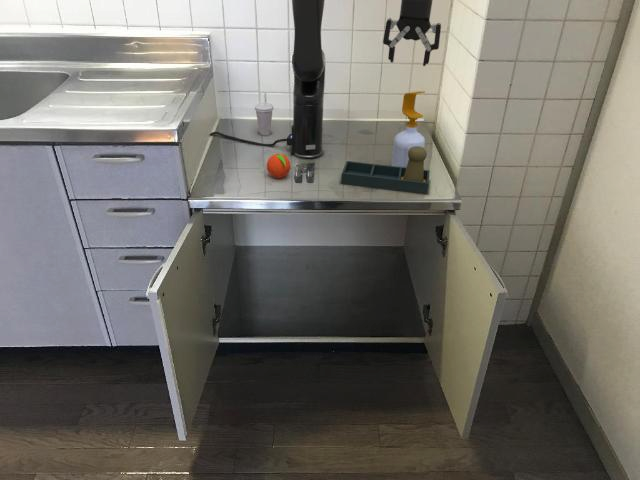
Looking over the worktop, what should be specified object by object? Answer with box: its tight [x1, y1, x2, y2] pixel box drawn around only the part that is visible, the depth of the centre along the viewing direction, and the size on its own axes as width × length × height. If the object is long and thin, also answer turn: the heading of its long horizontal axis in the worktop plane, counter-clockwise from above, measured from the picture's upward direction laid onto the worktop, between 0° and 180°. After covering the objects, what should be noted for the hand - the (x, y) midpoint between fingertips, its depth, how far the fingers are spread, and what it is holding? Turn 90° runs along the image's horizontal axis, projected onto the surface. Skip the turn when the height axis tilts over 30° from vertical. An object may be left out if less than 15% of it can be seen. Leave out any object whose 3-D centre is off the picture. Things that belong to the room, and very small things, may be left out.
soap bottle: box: [390, 90, 426, 168], centre depth 147 cm, size 9×9×25 cm
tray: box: [340, 160, 430, 195], centre depth 146 cm, size 25×9×3 cm, turn 78°
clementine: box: [266, 153, 292, 179], centre depth 145 cm, size 8×7×7 cm
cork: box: [403, 146, 428, 182], centre depth 142 cm, size 6×6×11 cm
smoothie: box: [254, 92, 274, 136], centre depth 171 cm, size 6×6×14 cm
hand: (408, 63), depth 132 cm, fingers open, 8 cm apart
